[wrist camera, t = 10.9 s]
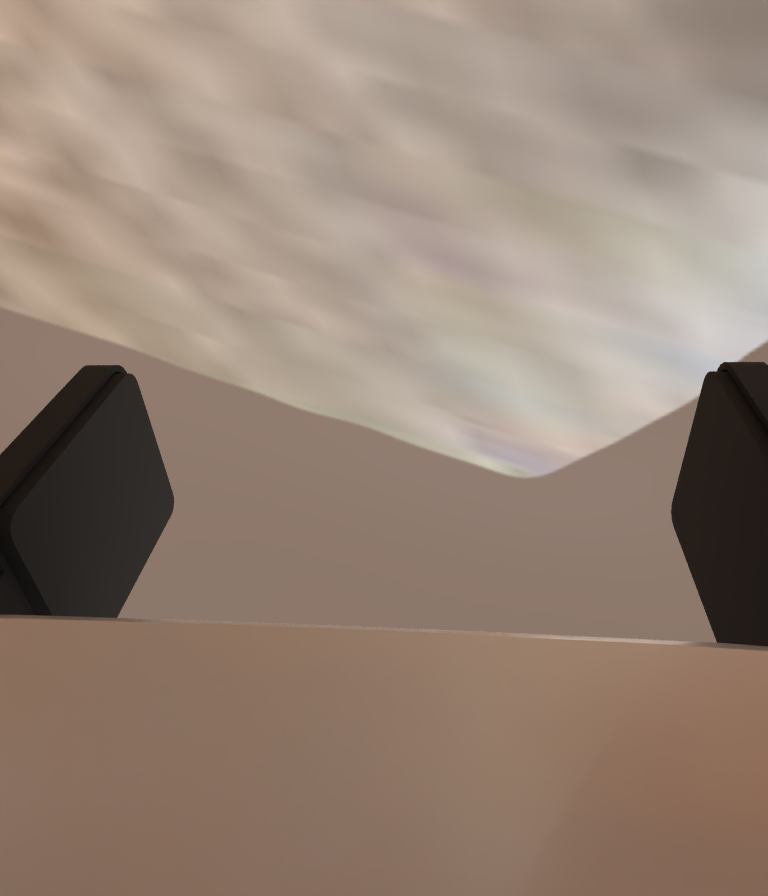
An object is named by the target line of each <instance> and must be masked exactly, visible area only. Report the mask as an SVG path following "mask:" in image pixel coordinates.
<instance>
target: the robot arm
mask: <svg viewBox="0 0 768 896" xmlns="http://www.w3.org/2000/svg"><path fill="white" fill-rule="evenodd" d="M173 507H174V496H173V492H172V489H171V486H170V482H169V479H168V476H167V473H166V470H165V467H164V464H163V461H162V458H161V454H160V451H159V448H158V445H157V442H156V439H155V435H154V432H153V429H152V426H151V423H150V420H149V417H148V414H147V410H146V407H145V404H144V401H143V398H142V395H141V391H140V389H139V385H138V382H137V380H136V378H135V377H134V375H132V374H127V373H126V371H125V370H124V368H123V367H121V366H119V365H93V366H92V365H89V366H84V367H83V368H82V369H81V370H80V371H79V372H78V373H77V374H76V375H75V376H74V377H73V378H72V379H71V380H70V381H69V382H68V383H67V384H66V385H65V387H64V388H63V389H62V390H61V391H60V392H59V393H58V394H57V395H56V396H55V397H54V399H52V400H51V401H50V402H49V404H48V405H47V406H46V407H45V408H44V409H43V410H42V411H41V412H40V413H39V414H38V415H37V416H36V417H35V418H34V420H33V421H32V422H31V423H30V424H29V425H28V426H27V427H26V428H25V429H24V430H23V431H22V432H21V433H20V435H18V437H17V438H16V439H15V440H14V441H13V442H12V443H11V444H10V445H9V446H8V447H7V448H6V449H5V450H4V451H3V452H2V453H1V455H0V896H768V365H766V364H765V363H764V362H724V363H722V364H721V365H720V366H719V368H718V370H717V372H708V373H707V375H706V376H705V379H704V382H703V385H702V389H701V393H700V397H699V401H698V405H697V409H696V412H695V416H694V420H693V424H692V428H691V432H690V436H689V440H688V444H687V447H686V452H685V455H684V459H683V463H682V467H681V471H680V475H679V478H678V482H677V486H676V490H675V494H674V498H673V502H672V510H671V514H672V522H673V526H674V529H675V531H676V534H677V537H678V539H679V542H680V545H681V547H682V550H683V553H684V555H685V558H686V561H687V563H688V566H689V569H690V572H691V574H692V577H693V579H694V582H695V585H696V588H697V590H698V593H699V596H700V598H701V601H702V603H703V606H704V609H705V612H706V614H707V617H708V620H709V622H710V625H711V628H712V630H713V633H714V636H715V638H716V641H717V643H710V642H687V641H686V642H685V641H668V640H667V641H666V640H648V639H628V638H606V637H583V636H561V635H540V634H518V633H496V632H495V633H494V632H473V631H450V630H427V629H426V630H425V629H424V630H423V629H400V628H377V627H353V626H326V625H302V624H275V623H250V622H249V623H248V622H221V621H189V620H161V619H133V618H132V619H131V618H117V617H118V615H119V613H120V611H121V609H122V607H123V605H124V603H125V602H126V599H127V598H128V596H129V594H130V592H131V590H132V588H133V586H134V584H135V582H136V581H137V579H138V577H139V575H140V573H141V571H142V569H143V567H144V566H145V564H146V562H147V560H148V558H149V556H150V554H151V552H152V550H153V548H154V547H155V545H156V543H157V541H158V539H159V537H160V535H161V533H162V532H163V530H164V528H165V526H166V524H167V522H168V520H169V518H170V516H171V514H172V512H173Z"/></svg>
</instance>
